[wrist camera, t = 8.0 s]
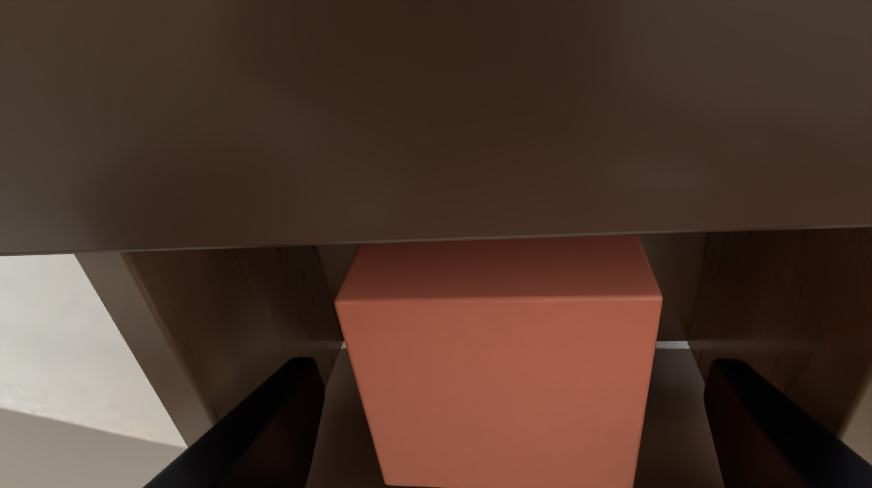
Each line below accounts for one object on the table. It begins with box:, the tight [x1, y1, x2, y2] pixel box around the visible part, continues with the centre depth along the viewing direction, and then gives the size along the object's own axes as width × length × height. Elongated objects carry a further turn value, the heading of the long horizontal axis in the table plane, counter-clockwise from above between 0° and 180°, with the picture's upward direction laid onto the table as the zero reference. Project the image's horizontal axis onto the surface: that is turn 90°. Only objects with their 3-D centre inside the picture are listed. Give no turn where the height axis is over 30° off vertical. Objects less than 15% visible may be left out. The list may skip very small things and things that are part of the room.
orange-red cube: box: [334, 235, 663, 488], centre depth 10 cm, size 5×5×5 cm
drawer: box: [74, 227, 872, 488], centre depth 12 cm, size 17×12×7 cm
